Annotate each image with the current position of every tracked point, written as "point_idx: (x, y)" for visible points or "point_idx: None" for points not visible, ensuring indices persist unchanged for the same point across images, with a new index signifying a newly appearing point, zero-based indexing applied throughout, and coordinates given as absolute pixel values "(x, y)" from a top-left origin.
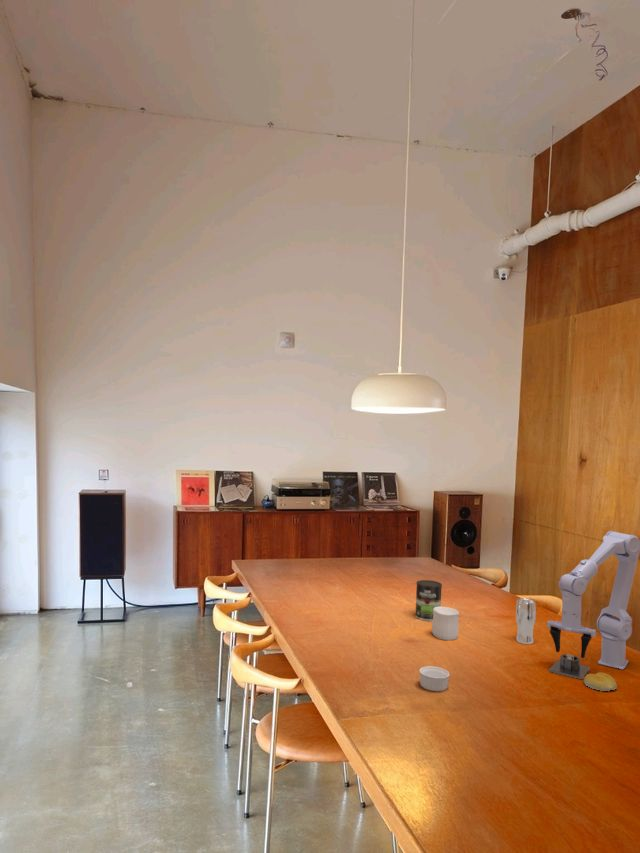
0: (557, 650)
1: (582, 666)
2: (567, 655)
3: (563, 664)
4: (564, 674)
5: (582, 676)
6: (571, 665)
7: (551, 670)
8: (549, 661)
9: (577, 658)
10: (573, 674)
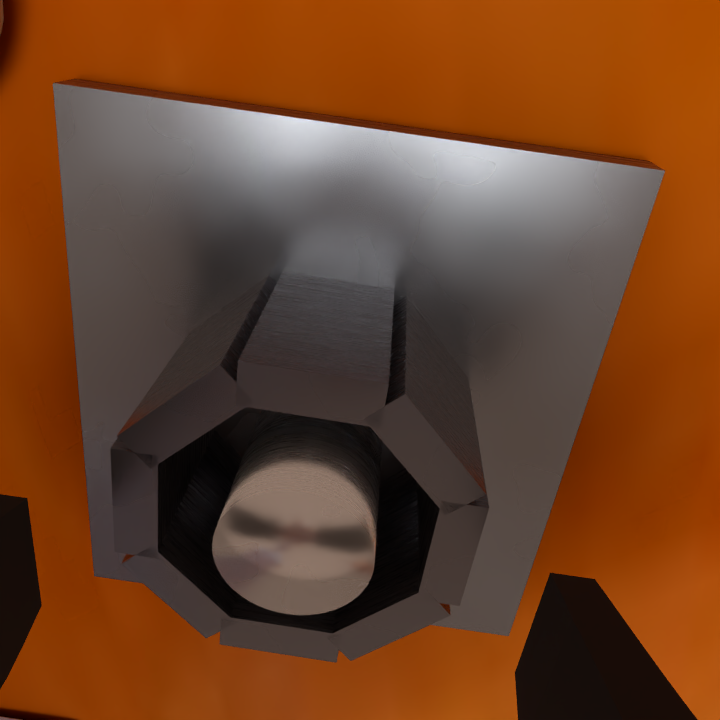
0: (580, 599)
1: None
2: (344, 551)
3: (411, 340)
4: (375, 124)
5: (64, 145)
6: (256, 327)
7: (614, 164)
8: (615, 579)
9: (165, 554)
10: (219, 156)
